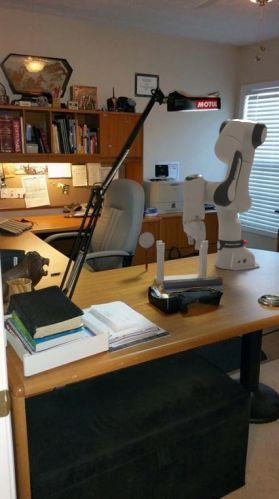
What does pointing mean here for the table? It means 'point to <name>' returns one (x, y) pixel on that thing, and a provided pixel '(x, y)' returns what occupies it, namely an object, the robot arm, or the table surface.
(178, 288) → the mat
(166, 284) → the rail
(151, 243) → the magnifying glass
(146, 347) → the table surface
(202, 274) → the frame
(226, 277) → the table surface
